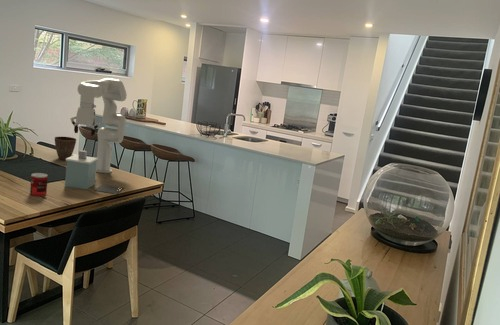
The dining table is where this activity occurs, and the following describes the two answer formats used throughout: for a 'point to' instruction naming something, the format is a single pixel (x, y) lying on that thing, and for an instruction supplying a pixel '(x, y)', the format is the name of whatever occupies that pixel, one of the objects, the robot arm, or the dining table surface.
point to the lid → (82, 158)
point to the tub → (80, 174)
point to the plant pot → (64, 147)
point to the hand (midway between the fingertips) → (84, 134)
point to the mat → (108, 189)
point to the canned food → (38, 184)
